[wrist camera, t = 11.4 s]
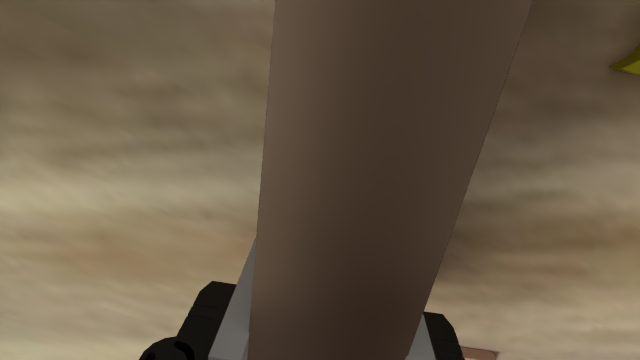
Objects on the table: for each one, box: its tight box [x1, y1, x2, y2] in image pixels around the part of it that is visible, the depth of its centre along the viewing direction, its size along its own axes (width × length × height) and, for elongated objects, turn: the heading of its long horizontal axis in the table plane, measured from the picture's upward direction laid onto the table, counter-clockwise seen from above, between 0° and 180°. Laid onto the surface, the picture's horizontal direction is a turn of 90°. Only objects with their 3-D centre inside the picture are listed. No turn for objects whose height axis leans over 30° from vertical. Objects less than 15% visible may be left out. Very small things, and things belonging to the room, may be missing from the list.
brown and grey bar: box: [247, 0, 533, 360], centre depth 12 cm, size 4×28×6 cm, turn 172°
